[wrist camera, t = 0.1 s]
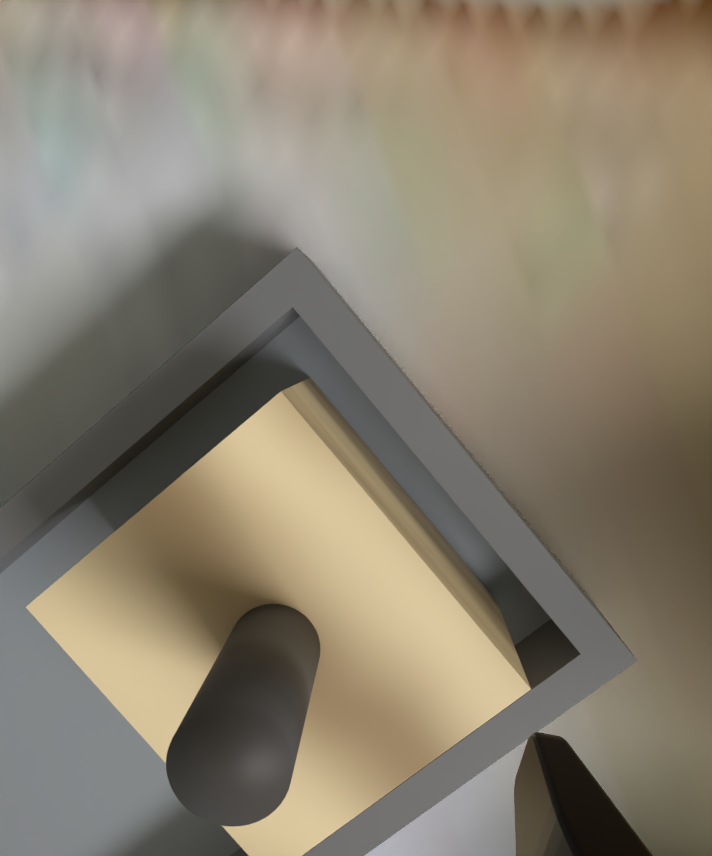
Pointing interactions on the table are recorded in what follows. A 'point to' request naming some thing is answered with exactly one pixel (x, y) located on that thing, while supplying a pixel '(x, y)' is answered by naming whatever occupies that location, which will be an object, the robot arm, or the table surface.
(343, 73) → the table surface
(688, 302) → the table surface
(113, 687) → the beige block with peg
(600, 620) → the tray
